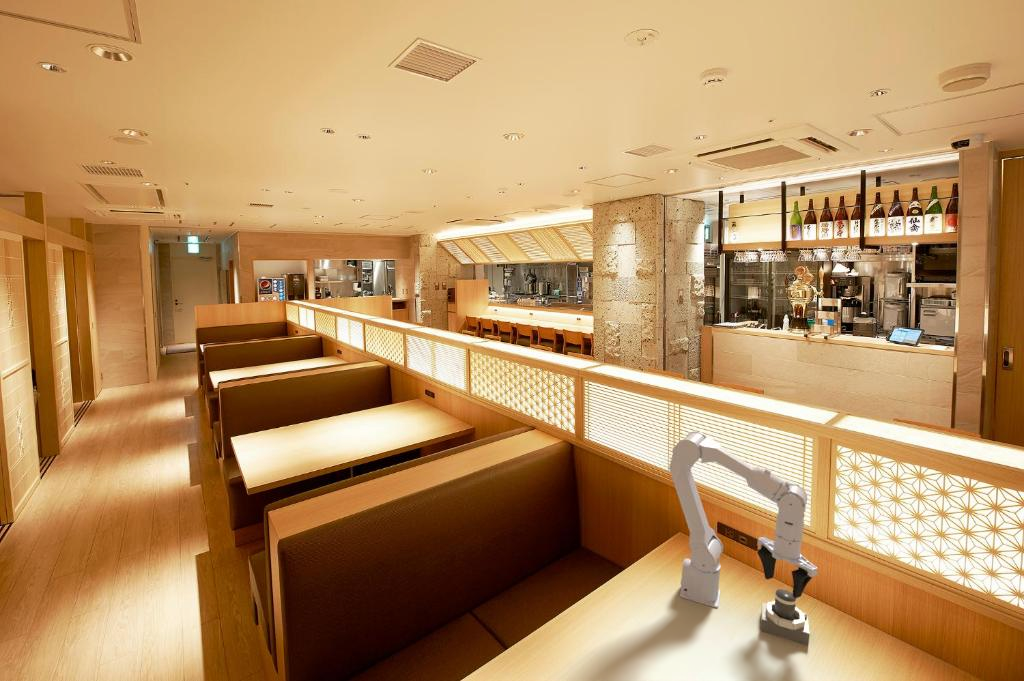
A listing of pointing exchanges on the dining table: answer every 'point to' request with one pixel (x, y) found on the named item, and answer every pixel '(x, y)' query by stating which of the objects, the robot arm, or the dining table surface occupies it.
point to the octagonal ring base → (785, 624)
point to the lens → (785, 604)
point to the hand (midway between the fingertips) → (782, 587)
